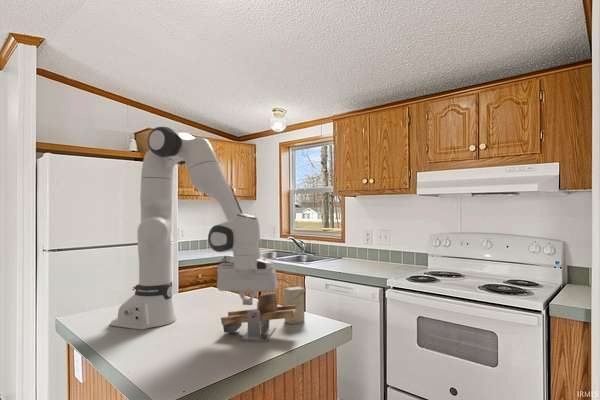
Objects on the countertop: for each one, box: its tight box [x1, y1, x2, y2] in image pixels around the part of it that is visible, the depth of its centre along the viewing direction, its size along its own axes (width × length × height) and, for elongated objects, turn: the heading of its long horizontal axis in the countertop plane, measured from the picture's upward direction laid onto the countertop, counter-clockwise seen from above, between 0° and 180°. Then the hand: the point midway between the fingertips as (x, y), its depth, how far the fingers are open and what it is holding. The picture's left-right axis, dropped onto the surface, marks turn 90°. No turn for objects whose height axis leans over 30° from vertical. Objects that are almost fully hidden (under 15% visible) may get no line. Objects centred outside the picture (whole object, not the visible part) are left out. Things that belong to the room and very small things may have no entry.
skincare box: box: [284, 286, 305, 325], centre depth 135 cm, size 6×4×12 cm
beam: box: [220, 305, 297, 333], centre depth 121 cm, size 24×8×6 cm, turn 80°
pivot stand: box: [240, 301, 277, 343], centre depth 121 cm, size 8×13×9 cm, turn 170°
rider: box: [257, 291, 279, 313], centre depth 121 cm, size 5×5×6 cm
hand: (247, 304), depth 122 cm, fingers closed
